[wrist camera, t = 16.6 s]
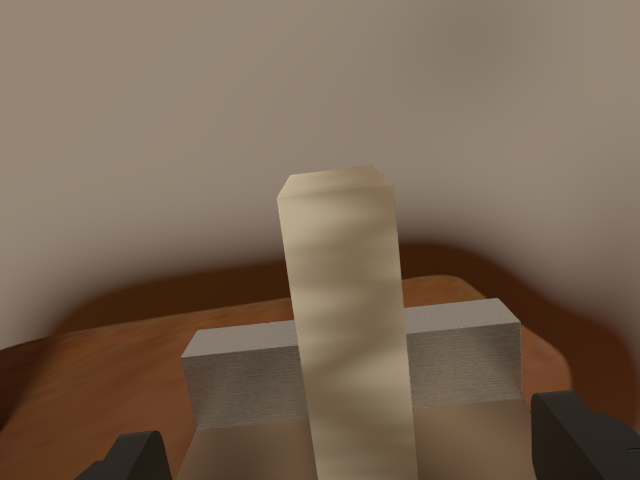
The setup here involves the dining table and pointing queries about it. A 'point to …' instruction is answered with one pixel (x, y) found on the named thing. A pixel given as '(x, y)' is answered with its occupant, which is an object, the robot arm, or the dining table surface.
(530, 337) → the dining table surface
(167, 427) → the dining table surface
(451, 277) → the dining table surface
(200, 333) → the metal rail
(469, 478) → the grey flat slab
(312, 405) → the cream tall block
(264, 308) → the dining table surface
